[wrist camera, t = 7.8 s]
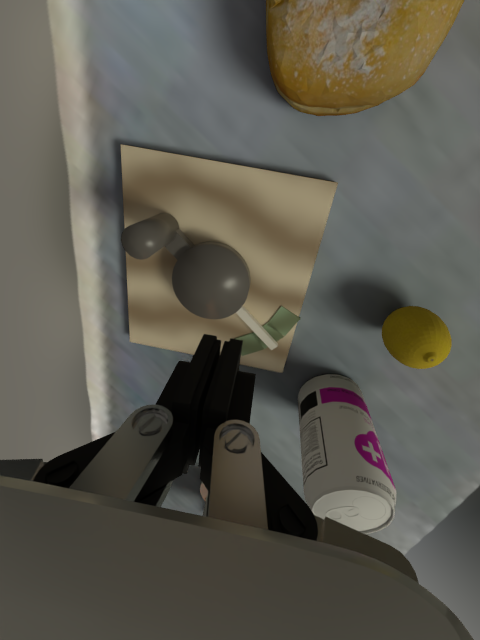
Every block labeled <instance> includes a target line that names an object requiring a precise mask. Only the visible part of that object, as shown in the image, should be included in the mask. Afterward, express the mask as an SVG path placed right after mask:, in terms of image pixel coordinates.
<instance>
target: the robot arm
mask: <svg viewBox="0 0 480 640" xmlns="http://www.w3.org/2000/svg"><path fill="white" fill-rule="evenodd" d="M242 345H243V340H237V339H231V338H230V341H225V342H224V345H223V348H222V351H221V354H220V349H221V340H217V336H214V335H208V334H204V335H203V337H202V339H201V341H200V343H199V345H198V347H197V349H196V352H195V354H194V356H193V358H192V360H191V362H185V361H179V362H178V364H177V365H176V367H175V369H174V371H173V373H172V375H171V377H170V378H169V380H168V382H167V384H166V386H165V388H164V390H163V392H162V393H161V395H160V397H159V399H158V401H157V403H156V405H146V406H142V407H140V408H138V409H136V410H135V411H134V412H133V413H132V414H130V416H129V417H128V418H127V419H126V420H125V422H124V423H123V424H122V425H121V426H120V428H119V429H118V430H117V431H116V432H114V433H112V434H109V435H107V436H105V437H102V438H100V439H97V440H95V441H93V442H90V443H88V444H86V445H83V446H81V447H79V448H76V449H74V450H72V451H69V452H67V453H64V454H62V455H60V456H58V457H56V458H54V459H52V460H50V461H49V462H43V460H42V459H23V460H22V459H20V460H0V640H474V639H473V638H472V636H471V635H470V633H469V632H468V631H467V629H466V628H465V626H464V625H463V624H462V622H461V621H460V620H459V619H458V618H457V616H456V615H455V614H454V613H453V612H452V611H451V610H450V609H449V608H448V607H447V606H446V605H445V604H444V603H443V602H441V601H440V600H439V599H438V598H437V597H435V596H434V595H433V594H432V593H431V592H429V591H428V590H427V589H425V588H424V587H422V586H421V585H420V584H419V583H418V579H417V576H416V573H415V571H414V569H413V568H412V566H411V564H410V562H409V561H408V560H407V559H406V558H405V556H404V555H403V554H402V553H401V552H400V551H398V550H396V549H395V548H393V547H392V546H390V545H388V544H386V543H383V542H381V541H379V540H377V539H375V538H372V537H370V536H368V535H366V534H364V533H361V532H359V531H357V530H355V529H352V528H350V527H348V526H346V525H344V524H341V523H339V522H337V521H335V520H333V519H330V518H328V517H326V516H325V518H324V519H322V518H320V517H318V516H315V515H314V514H313V512H312V511H311V509H310V508H309V506H308V505H307V504H306V503H305V502H304V501H303V500H302V498H301V497H300V496H299V495H298V494H297V493H296V492H295V490H294V489H293V488H292V487H291V486H290V485H289V484H288V482H287V481H286V480H285V479H284V478H283V477H282V475H281V474H280V473H279V472H278V471H277V470H276V469H275V467H274V466H273V465H272V464H271V463H270V462H269V461H268V459H267V458H266V457H265V456H264V455H263V454H262V453H261V449H260V439H259V435H258V433H257V431H256V430H255V428H254V427H253V426H251V425H250V424H249V423H250V415H251V407H252V399H253V391H254V383H255V375H256V374H253V373H247V372H241V371H239V365H240V358H241V352H242ZM199 449H200V454H199V467H201V473H200V479H201V481H202V482H201V486H200V494H201V496H202V498H203V499H204V501H205V502H206V503H205V507H204V512H203V516H200V515H195V514H190V513H185V512H180V511H176V510H171V509H166V508H161V506H162V504H163V502H164V500H165V498H166V496H167V494H168V492H169V490H170V488H171V485H172V482H173V480H174V479H176V478H177V477H179V476H181V475H182V473H184V474H187V471H188V467H189V465H195V462H196V459H197V456H198V452H199Z"/></svg>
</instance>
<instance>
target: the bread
mask: <svg viewBox="0 0 480 640" xmlns="http://www.w3.org/2000/svg"><path fill="white" fill-rule="evenodd" d="M463 2H464V0H266V36H267V54H268V60H269V66H270V71H271V76H272V79H273V81H274V84H275V87H276V89H277V91H278V93H279V94H280V95H281V96H282V97H283V98H284V99H285V100H286V101H287V102H288V103H289V104H290V105H291V106H292V107H293V108H295V109H296V110H298V111H300V112H303V113H307V114H313V115H316V116H326V115H346V114H352V113H357V112H360V111H363V110H365V109H368V108H371V107H374V106H377V105H379V104H381V103H382V102H384V101H387V100H389V99H391V98H393V97H395V96H397V95H399V94H400V93H402V92H403V91H405V90H407V89H408V88H410V87H411V86H413V85H414V84H415V83H416V82H417V81H418V79H419V78H420V77H421V76H422V75H423V74H424V72H425V70H426V69H427V67H428V65H429V64H430V62H431V60H432V59H433V57H434V55H435V54H436V52H437V50H438V49H439V47H440V46H441V44H442V42H443V41H444V39H445V37H446V36H447V34H448V32H449V30H450V28H451V27H452V25H453V23H454V21H455V19H456V17H457V15H458V12H459V10H460V8H461V6H462V4H463Z"/></svg>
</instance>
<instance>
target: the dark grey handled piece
mask: <svg viewBox="0 0 480 640" xmlns="http://www.w3.org/2000/svg"><path fill="white" fill-rule="evenodd" d="M121 242H122V245H123V248H124V249H125V251H126V252H127V253H128V254H129V255H130V256H131V257H133V258H135V259H140V260H143V259H147V258H149V257H150V256H152V255H153V254H154V253H156V252H157V251H159V250H160V249H162V248H163V247H164V246H165V247H166V249H167V250H168V251H169V252H170V253H171V254H172V255H173V256H174V257H175V258H176V259H177V262H176V264H175V266H174V269H173V272H172V286H173V289H174V292H175V295H176V297H177V298H178V300H179V301H180V303H181V304H182V305H183V306H184V307H185V308H186V309H187V310H188V311H190V312H191V313H193V314H195V315H197V316H199V317H202V318H206V319H223V318H226V317H229V316H231V315H233V314H234V313H237V314H238V316H239V317H240V318H241V319H242V320H243V321H244V322H245V323H246V324H247V325H248V326H249V327H250V328H251V329H252V330H253V331H254V333H255V334H256V335H257V336H258V337H259V338H260V339H261V340H262V341H263V342H264V343H265V344H266V345H267V346H268V347H269V348H270V349H271V350H273V349H274V348H276V347H278V343H277V342H276V341H275V340H274V339H273V338H272V337H271V336H270V334H269V333H268V332H267V331H266V330H265V329H264V328H263V327H262V326H261V325H260V324H259V322H258V321H257V320H256V319H255V318H254V317H253V316H252V315H251V314H250V313H249V312H248V311H247V309H246V308H245V307H244V306H243V304H244V303H245V301H246V299H247V296H248V292H249V288H250V283H251V277H250V271H249V268H248V265H247V263H246V262H245V260H244V258H243V257H242V256H241V255H240V254H239V253H238V252H237V251H236V250H235V249H234V248H232V247H230V246H228V245H226V244H224V243H220V242H215V241H206V242H201V243H198V244H196V245H194V244H193V243H192V242H191V241H190V239H189V238H188V237H187V236H186V235H185V234H184V233H183V232H182V231H181V230H180V229H179V224H178V222H177V220H176V219H175V217H173V216H172V215H171V214H168V213H160V214H157V215H155V216H152V217H150V218H147V219H145V220H142V221H140V222H137V223H135V224H132V225H130V226H128V227H126V228H125V229H124V230H123V232H122V236H121Z"/></svg>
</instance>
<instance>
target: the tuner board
mask: <svg viewBox="0 0 480 640" xmlns="http://www.w3.org/2000/svg"><path fill="white" fill-rule="evenodd" d="M121 162H122V183H123V204H124V225H125V228H126V227H128V226H130V225H132V224H135V223H137V222H140V221H142V220H145V219H147V218H150V217H152V216H155V215H157V214H160V213H168V214H171V215H172V216H173V217H175V219H176V220H177V222H178V224H179V229H180V230H181V231H182V232H183V233H184V234H185V235H186V236H187V237H188V238H189V239H190V241H191V242H192V243H193V244H194V245H196V244H198V243H201V242H206V241H215V242H220V243H224V244H226V245H228V246H230V247H232V248H234V249H235V250H236V251H237V252H238V253H239V254H240V255H241V256H242V257H243V258H244V260H245V262H246V263H247V265H248V268H249V271H250V277H251V283H250V288H249V292H248V296H247V299H246V301H245V303H244V304H243V306H244V307H245V308H246V309H247V311H248V312H249V313H250V314H251V315H252V316H253V317H254V318H255V319H256V320H257V321H258V322H259V324H260V325H261V326H262V327H263V328H264V329H265V330H266V331H267V332H268V333H269V334H270V336H271V337H272V338H273V339H274V340H275V341H276V342H277V343H278V347H276V348H274V349H273V350H271V349H270V348H269V347H268V346H267V345H266V344H265V343H264V342H263V341H262V340H261V339H260V338H259V337H258V336H257V335H256V334H255V333H254V331H253V330H252V329H251V328H250V327H249V326H248V325H247V324H246V323H245V322H244V321H243V320H242V319H241V318H240V317H239V316H238V314H237V313H234V314H233V315H231V316H229V317H226V318H223V319H206V318H202V317H199V316H197V315H195V314H193V313H191V312H190V311H188V310H187V309H186V308H185V307H184V306H183V305H182V304H181V303H180V301H179V300H178V298H177V297H176V295H175V292H174V289H173V286H172V272H173V269H174V266H175V264H176V262H177V259H176V258H175V257H174V256H173V255H172V254H171V253H170V252H169V251H168V250H167V249H166V247H165V246H164V247H163V248H162V249H160V250H159V251H157V252H156V253H154V254H153V255H152V256H150V257H149V258H147V259H143V260H140V259H135V258H133V257H131V256H130V255H129V254H128V253H127V252H126V268H127V289H128V310H129V331H130V342H134V343H139V344H143V345H148V346H153V347H158V348H163V349H168V350H173V351H178V352H183V353H187V354H192V355H194V354H195V352H196V349H197V347H198V345H199V343H200V341H201V339H202V337H203V335H204V334H208V335H214V336H217V340H221V349H220V354H221V351H222V348H223V345H224V342H225V341H230V338H231V339H237V340H243V345H242V352H241V358H240V364H241V365H246V366H251V367H256V368H261V369H265V370H270V371H275V372H280V373H282V372H283V369H284V366H285V362H286V359H287V355H288V352H289V349H290V345H291V342H292V338H293V335H294V331H295V328H296V325H297V322H298V321H299V320H300V317H299V314H300V311H301V307H302V304H303V301H304V297H305V294H306V290H307V287H308V284H309V280H310V277H311V273H312V270H313V266H314V263H315V260H316V256H317V253H318V249H319V246H320V243H321V239H322V236H323V232H324V229H325V225H326V222H327V219H328V215H329V212H330V208H331V205H332V201H333V198H334V195H335V191H336V188H337V184H338V183H336V182H332V181H326V180H320V179H315V178H309V177H303V176H298V175H292V174H286V173H281V172H275V171H270V170H264V169H258V168H253V167H247V166H241V165H236V164H230V163H224V162H219V161H213V160H207V159H202V158H196V157H191V156H185V155H179V154H174V153H168V152H162V151H157V150H151V149H145V148H140V147H134V146H129V145H121Z"/></svg>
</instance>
